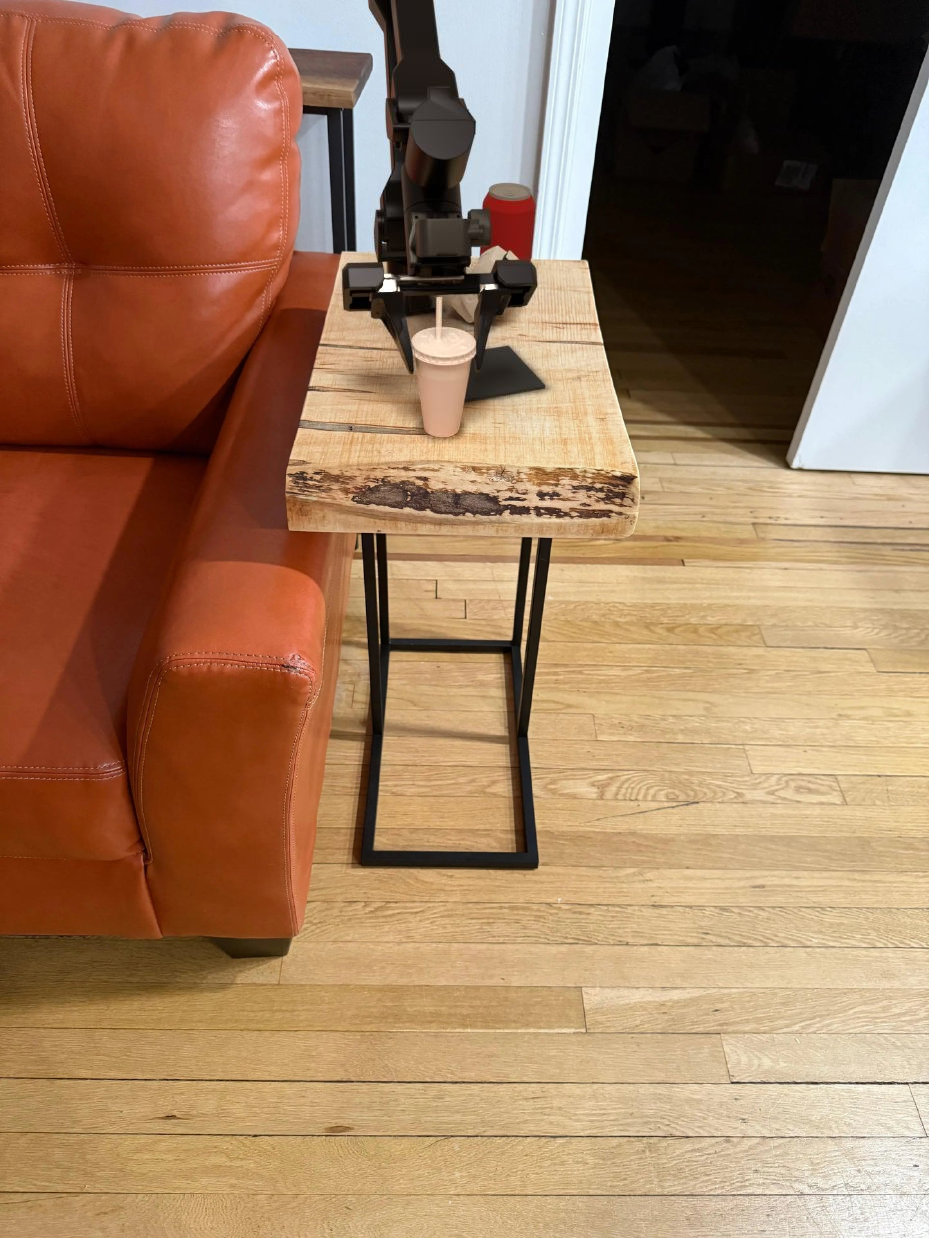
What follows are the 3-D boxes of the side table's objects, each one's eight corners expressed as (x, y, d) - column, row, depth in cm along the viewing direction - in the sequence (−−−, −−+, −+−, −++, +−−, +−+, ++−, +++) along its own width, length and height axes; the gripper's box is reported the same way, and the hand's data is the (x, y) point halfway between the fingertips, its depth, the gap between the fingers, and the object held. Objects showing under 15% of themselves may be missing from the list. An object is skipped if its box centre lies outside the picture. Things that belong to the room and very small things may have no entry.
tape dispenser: (473, 342, 114) (529, 289, 108) (434, 303, 112) (489, 247, 106) (483, 322, 118) (538, 270, 112) (446, 284, 116) (500, 229, 110)
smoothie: (402, 417, 97) (401, 287, 87) (459, 407, 99) (464, 280, 89) (422, 448, 93) (423, 316, 83) (481, 438, 94) (489, 307, 85)
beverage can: (529, 276, 125) (538, 183, 117) (527, 296, 120) (536, 201, 112) (480, 271, 125) (485, 179, 117) (476, 292, 120) (480, 197, 112)
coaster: (429, 360, 106) (429, 357, 106) (508, 348, 109) (508, 345, 109) (462, 402, 100) (462, 399, 99) (545, 388, 103) (545, 385, 102)
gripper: (336, 173, 81) (349, 348, 81) (543, 171, 83) (556, 341, 83) (337, 230, 92) (348, 384, 92) (520, 228, 94) (531, 378, 94)
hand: (444, 372), depth 90 cm, fingers closed on smoothie, 6 cm apart
